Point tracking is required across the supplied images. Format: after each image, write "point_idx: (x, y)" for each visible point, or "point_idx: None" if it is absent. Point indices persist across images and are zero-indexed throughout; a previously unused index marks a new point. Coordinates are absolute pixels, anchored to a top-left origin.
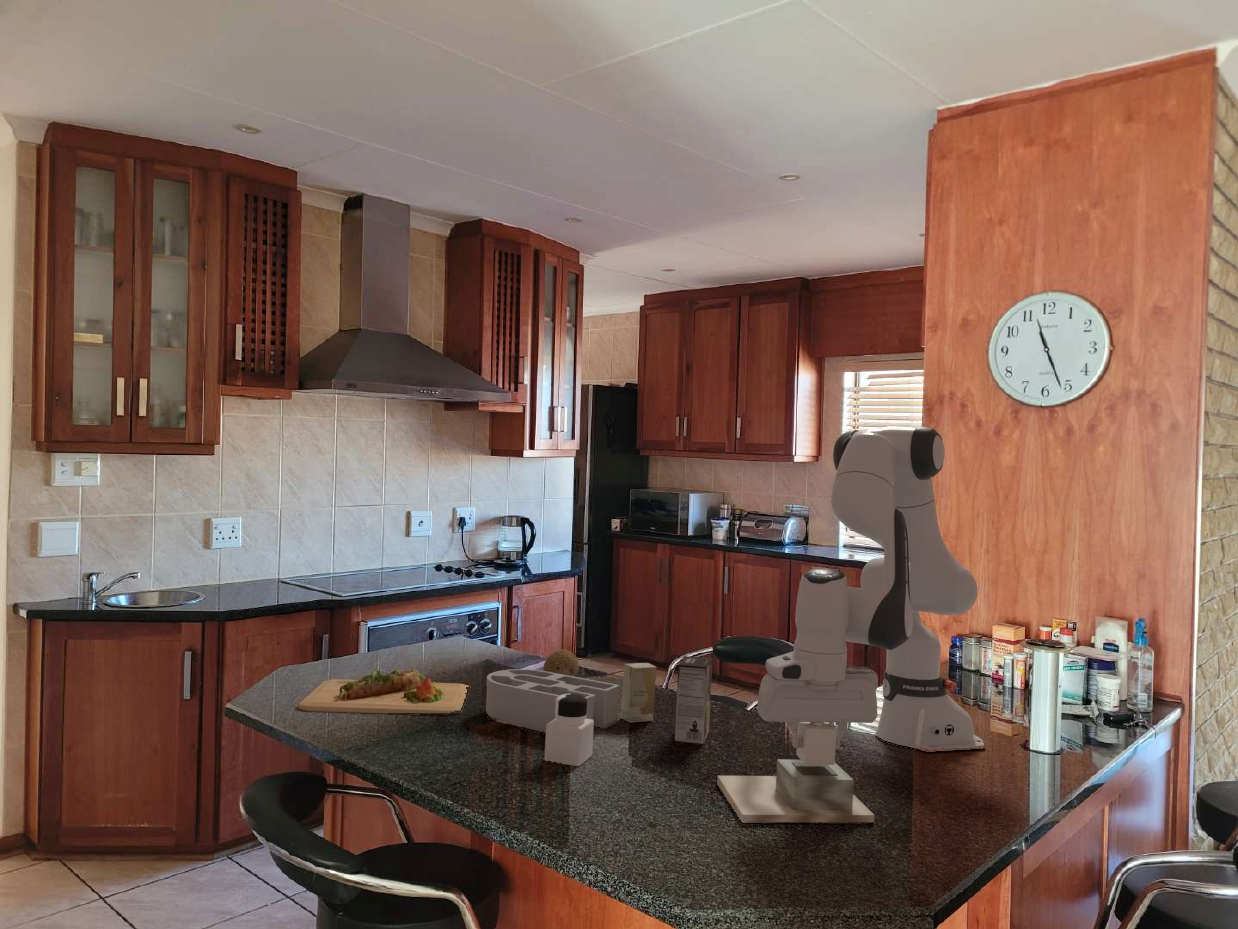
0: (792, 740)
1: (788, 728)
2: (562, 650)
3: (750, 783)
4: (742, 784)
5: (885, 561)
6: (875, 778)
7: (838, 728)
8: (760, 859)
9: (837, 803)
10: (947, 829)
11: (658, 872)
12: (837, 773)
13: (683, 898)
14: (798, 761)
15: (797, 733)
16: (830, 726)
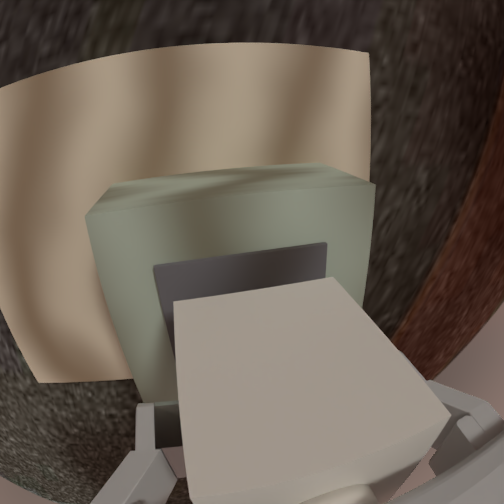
0: (138, 426)
1: (105, 488)
2: None
3: (31, 156)
4: (8, 173)
5: None
6: (456, 33)
7: (447, 422)
8: (97, 457)
9: None
10: (447, 312)
11: (2, 464)
12: None
13: (44, 493)
14: (195, 231)
15: (179, 398)
16: (385, 494)
